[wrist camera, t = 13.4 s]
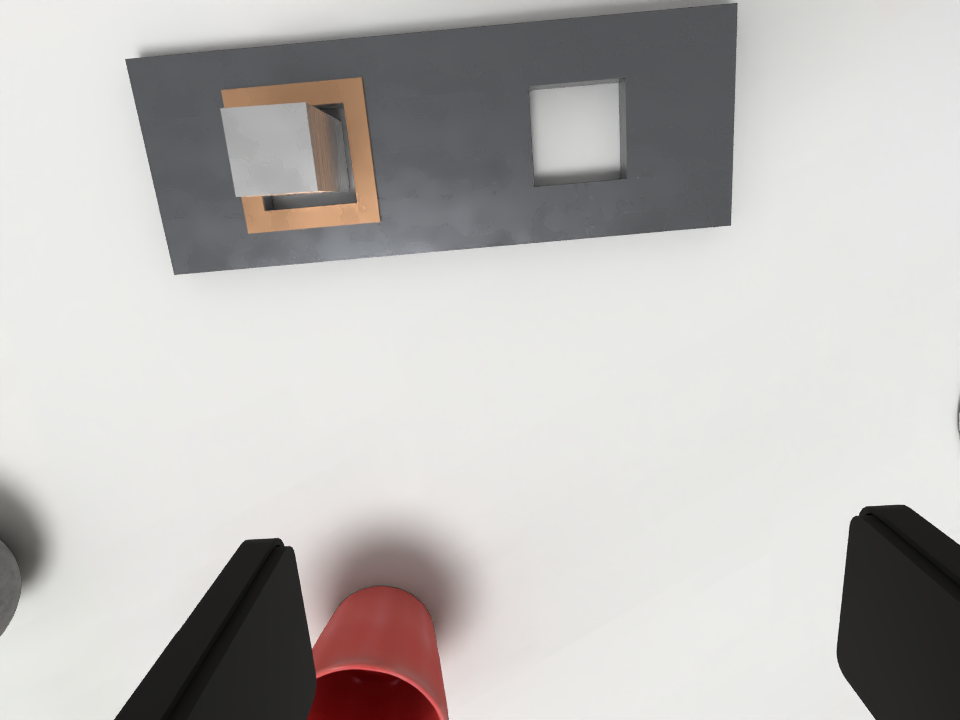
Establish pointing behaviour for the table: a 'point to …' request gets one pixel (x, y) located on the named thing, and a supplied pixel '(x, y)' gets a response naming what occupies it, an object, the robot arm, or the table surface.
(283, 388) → the table surface
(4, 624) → the decorative ball
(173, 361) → the table surface
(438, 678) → the flower pot
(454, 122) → the grey board with holes
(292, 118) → the steel rectangular block
